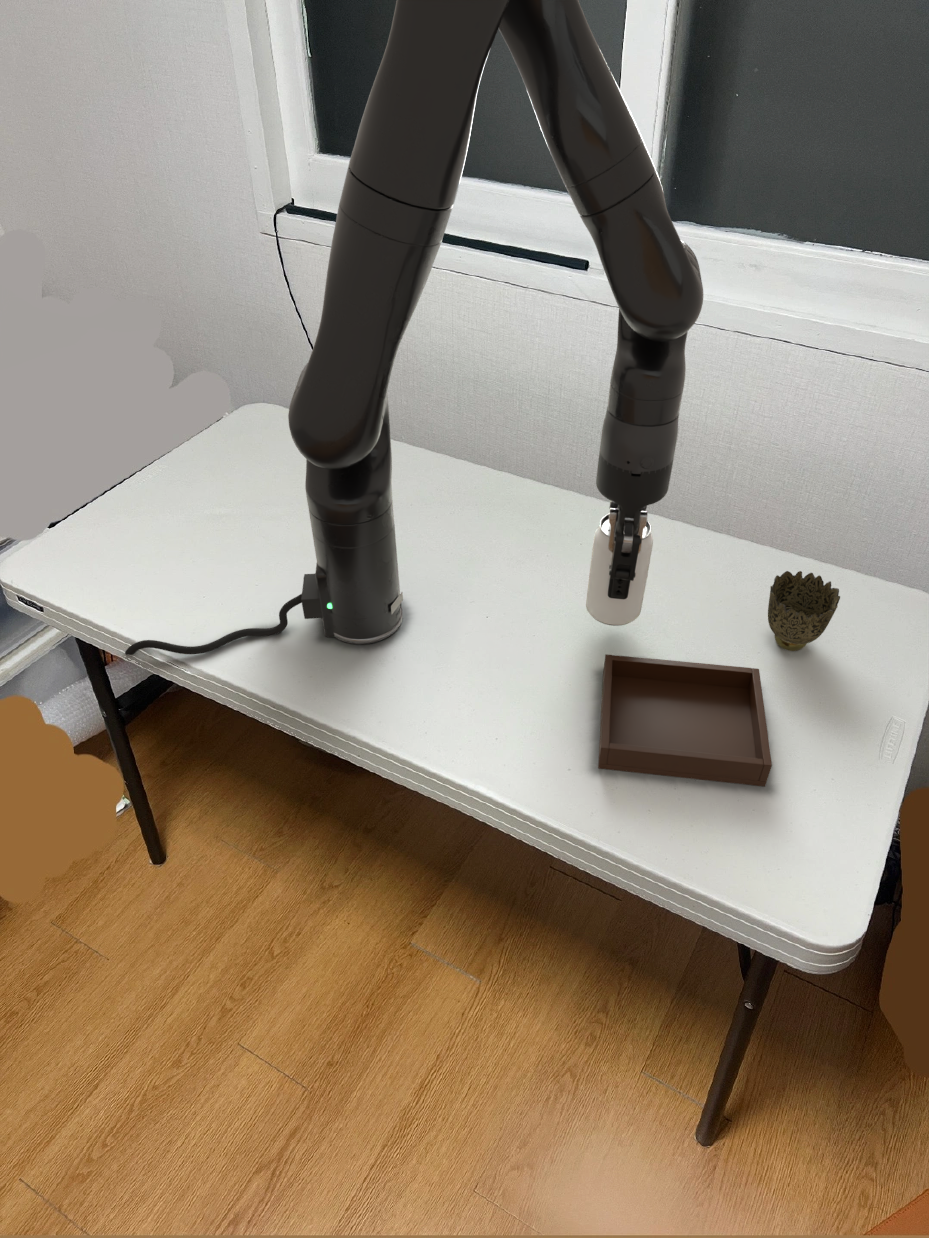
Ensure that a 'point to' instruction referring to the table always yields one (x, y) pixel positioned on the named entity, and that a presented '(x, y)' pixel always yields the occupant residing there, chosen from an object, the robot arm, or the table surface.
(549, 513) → the table surface
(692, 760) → the tray
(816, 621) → the cup
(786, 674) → the table surface
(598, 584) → the can
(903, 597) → the table surface
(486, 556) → the table surface
